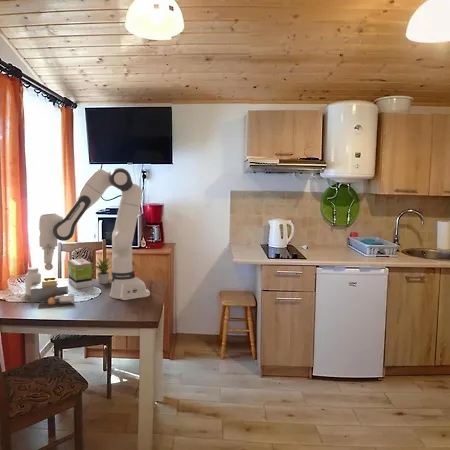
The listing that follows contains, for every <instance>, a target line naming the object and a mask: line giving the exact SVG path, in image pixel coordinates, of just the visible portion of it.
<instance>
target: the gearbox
mask: <svg viewBox="0 0 450 450" xmlns="http://www.w3.org/2000/svg"><path fill="white" fill-rule="evenodd" d="M68 283H69V279H68V280H58V277H57V276H50V277H42V278H41V282H36V283H32V286H31V289H30V290H31V296H30V303H31V304H34V303H48V299H49V298H51V297H53V298H55V296H59V295H68V294H69V284H68ZM56 302H59V300H56Z"/></svg>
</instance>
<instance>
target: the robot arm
mask: <svg viewBox="0 0 450 450" xmlns="http://www.w3.org/2000/svg"><path fill="white" fill-rule="evenodd" d="M109 187H114V188H116V189H117V190H120V191H121V197H120V201H119V205H118V210H117V214H116V218H115V219H116V220H115V224H114V228H113V231H112V234H111V251H112V253H111V254H112V255H111V258H112V259H111V261H112V262H111V265H112V266H111V268H112V270H111V274H110V276H111V277H110V280H111V287H110V292H109V297H110V298H112V299H116V300H118V299H119V300H123V301H127V300H134V299H141V298H147V297H150V296H151V292H150V290H149V289H148V288H147V287H146V286H147V285H146V284H145V282H144V281H143V280H141V279H140V278H139V277H137V276H138V271H135V270H134V269H133V242H134V237H135V232H136V227H137V223H138V222H137V221H138V216H139V213H140V207H141V204H142V198H143V197H142V196H143V190H142V187H141V186H139V185H138V184H135V183H133V180H132V176H131V174H130V172H129V171H128V170H127V169H125V168H122V167H117V168H115V169H113V170H112V171H110V172H107V171H106V170H104V169H100V168H99V169H95V171H93V172H92V174H91V175H89V177H88V178H87V179H86V180H85V182H84V183H83V185H82V187H81V188H80V190H79V192H78V195H77V198H76V200H75V202H74V205H73V206H72V207H71V209H70V211H69V212H68V214H67V215H65V217H63V216H60V215H58V214H57V213H56V212H46V213H43V214H41V215H40V216H39V221H38V222H39V223H38V226H39V227H38V230H39V247H40V248H41V250H43V263H44V265H47V270H46V271H51V270H52V269H51V264H53V263H52V262H53V257H54V251H55V249H56V247H58V241H62V242H63V241H64V242H65V241H69V240H70V239H72V237H73V236H74V234H75V232H76V230H77V229H76V228H77V223H78V222H80V221H79V220H81V218H82V217H83V215H84V214H85V212H87V210H88V209H89V208H91V207H92V206H93V205H95V204H96V203H97V202H98V201H99V200H100V199H101V197H102V196H103V195H104V193H105V191H106V190H107V189H108V188H109ZM50 269H51V270H50Z"/></svg>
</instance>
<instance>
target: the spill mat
mask: <svg viewBox="0 0 450 450" xmlns="http://www.w3.org/2000/svg"><path fill="white" fill-rule="evenodd" d="M65 307H66V308H69V307H75V303H74V304H64V305H59V301H56V303H55V304H54V305H49V304H48V302H38V307H37V309H38V310H43V309H45V310H46V309H54V308H65Z"/></svg>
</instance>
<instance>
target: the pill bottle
mask: <svg viewBox="0 0 450 450" xmlns="http://www.w3.org/2000/svg"><path fill="white" fill-rule="evenodd" d="M24 280H25V282H24V284H25V285H24V286H25V287H24V288H25V290H24V291H25V296H30V297H31V290H30V289H31V286H32V283H36V282H42V274H41V273H40V272H39V267H37V266H32V267H28V268H27V272H26V273H25V276H24Z"/></svg>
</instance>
